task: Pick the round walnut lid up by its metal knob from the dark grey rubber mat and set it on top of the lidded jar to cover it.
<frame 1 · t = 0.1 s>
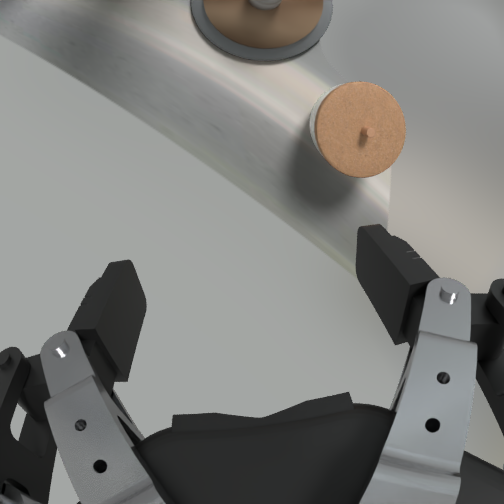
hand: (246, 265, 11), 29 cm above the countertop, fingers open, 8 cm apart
lidded jar: (339, 121, 36), on the countertop
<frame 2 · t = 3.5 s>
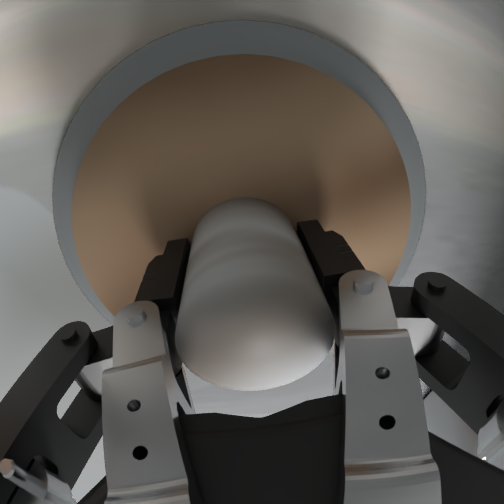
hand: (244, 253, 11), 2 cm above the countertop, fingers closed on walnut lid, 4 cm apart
rubber mat: (242, 229, 13), on the countertop
walnut lid: (243, 235, 13), point 1 cm above the countertop, touching gripper, rubber mat
when the fingers open (12 cm above the countertop, at t = 8.3 s): walnut lid drops 2 cm, resting on lidded jar.
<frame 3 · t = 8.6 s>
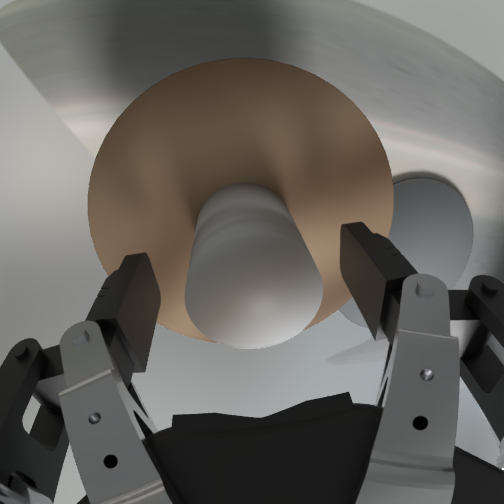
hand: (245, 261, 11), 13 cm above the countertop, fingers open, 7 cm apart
rubber mat: (408, 260, 27), on the countertop
walnut lid: (242, 218, 14), point 9 cm above the countertop, touching lidded jar
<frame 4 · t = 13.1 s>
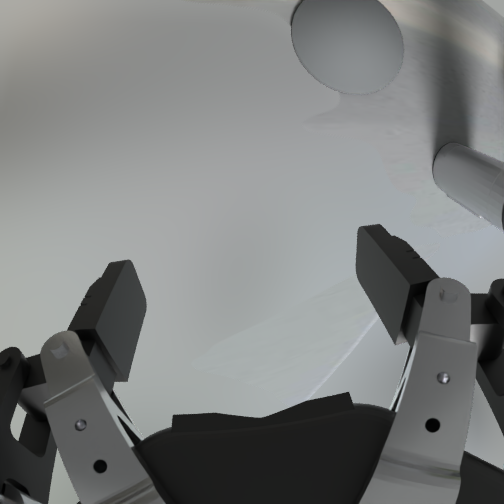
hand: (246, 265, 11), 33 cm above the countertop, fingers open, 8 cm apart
rubber mat: (350, 39, 33), on the countertop
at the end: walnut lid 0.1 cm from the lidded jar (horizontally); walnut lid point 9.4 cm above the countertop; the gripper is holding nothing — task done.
